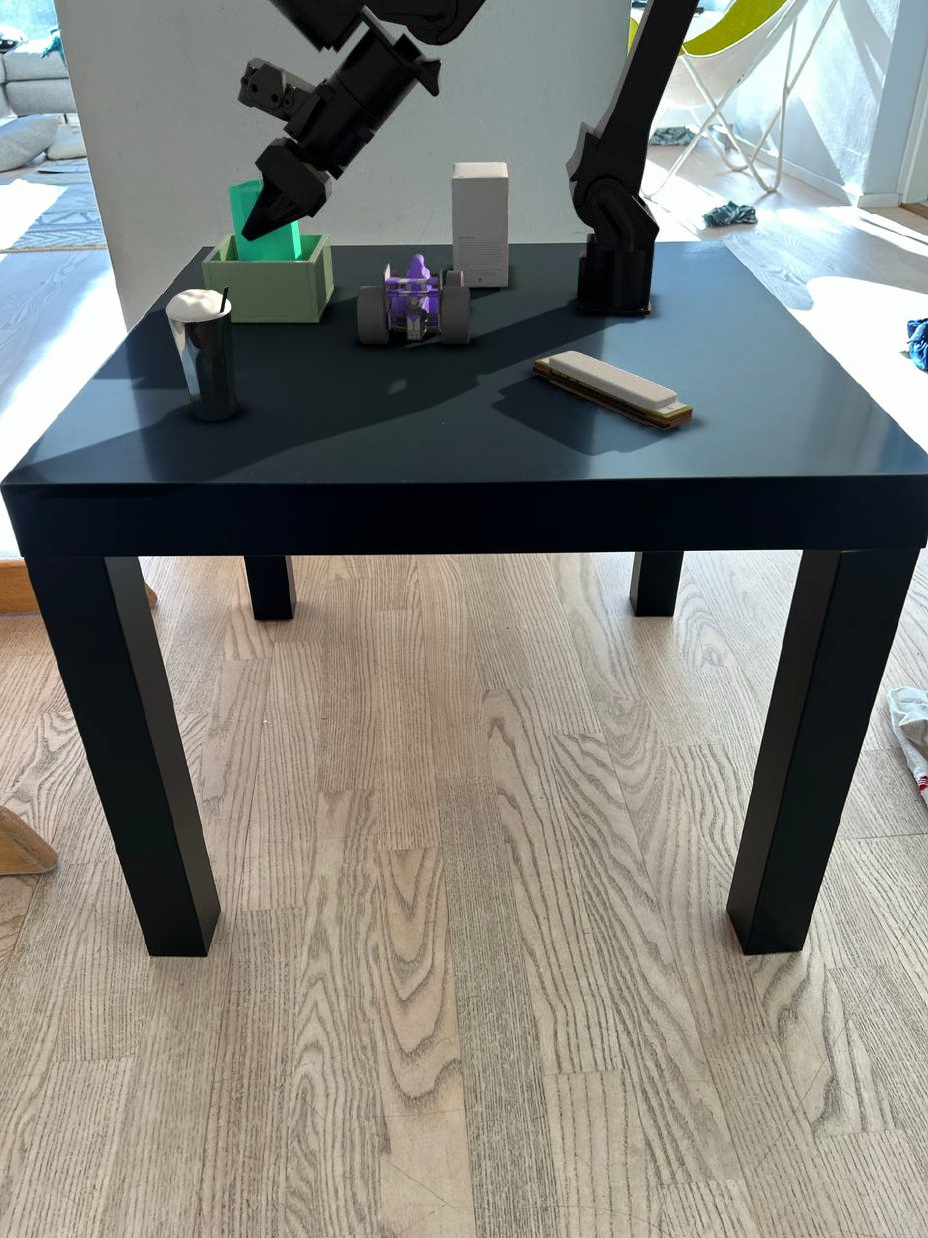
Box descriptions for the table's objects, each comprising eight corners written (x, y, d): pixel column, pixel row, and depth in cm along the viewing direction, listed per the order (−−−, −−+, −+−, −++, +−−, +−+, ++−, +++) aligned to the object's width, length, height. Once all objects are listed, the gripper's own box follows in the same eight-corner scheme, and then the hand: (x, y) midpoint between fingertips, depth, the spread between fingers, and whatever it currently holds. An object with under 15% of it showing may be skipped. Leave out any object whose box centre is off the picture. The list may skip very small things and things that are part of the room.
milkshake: (225, 432, 73) (203, 295, 67) (172, 417, 76) (147, 283, 70) (266, 410, 76) (248, 278, 71) (214, 396, 79) (193, 267, 73)
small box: (507, 288, 101) (509, 177, 95) (452, 288, 101) (450, 177, 95) (506, 266, 108) (507, 160, 102) (454, 266, 108) (452, 161, 102)
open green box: (333, 289, 101) (329, 233, 98) (319, 322, 93) (313, 262, 90) (234, 289, 102) (226, 233, 99) (210, 322, 93) (201, 262, 90)
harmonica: (531, 375, 82) (532, 351, 81) (559, 366, 83) (561, 343, 82) (662, 434, 72) (665, 408, 71) (691, 423, 74) (695, 397, 73)
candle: (258, 313, 94) (238, 176, 87) (235, 297, 98) (215, 165, 91) (316, 301, 96) (302, 167, 89) (292, 286, 100) (276, 157, 94)
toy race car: (474, 298, 99) (473, 229, 95) (468, 352, 86) (468, 275, 83) (377, 298, 99) (373, 229, 95) (358, 351, 87) (353, 275, 83)
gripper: (305, 12, 91) (205, 145, 98) (266, 30, 76) (151, 186, 83) (396, 107, 96) (294, 228, 102) (376, 143, 80) (258, 282, 87)
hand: (251, 229), depth 93 cm, fingers closed on candle, 5 cm apart
